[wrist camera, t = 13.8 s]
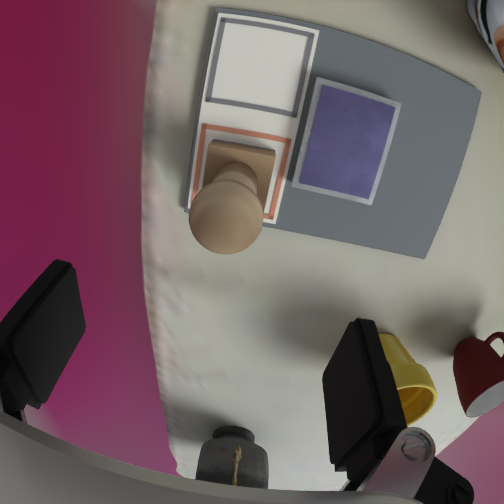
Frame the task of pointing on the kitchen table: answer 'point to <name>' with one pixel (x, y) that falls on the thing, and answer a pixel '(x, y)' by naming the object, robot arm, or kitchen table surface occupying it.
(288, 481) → the kitchen table surface
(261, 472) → the pitcher
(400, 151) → the desk mat
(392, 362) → the plant pot
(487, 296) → the kitchen table surface
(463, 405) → the mug
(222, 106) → the paper sheet
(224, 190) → the stamp
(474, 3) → the lucky cat figurine
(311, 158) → the ink pad
